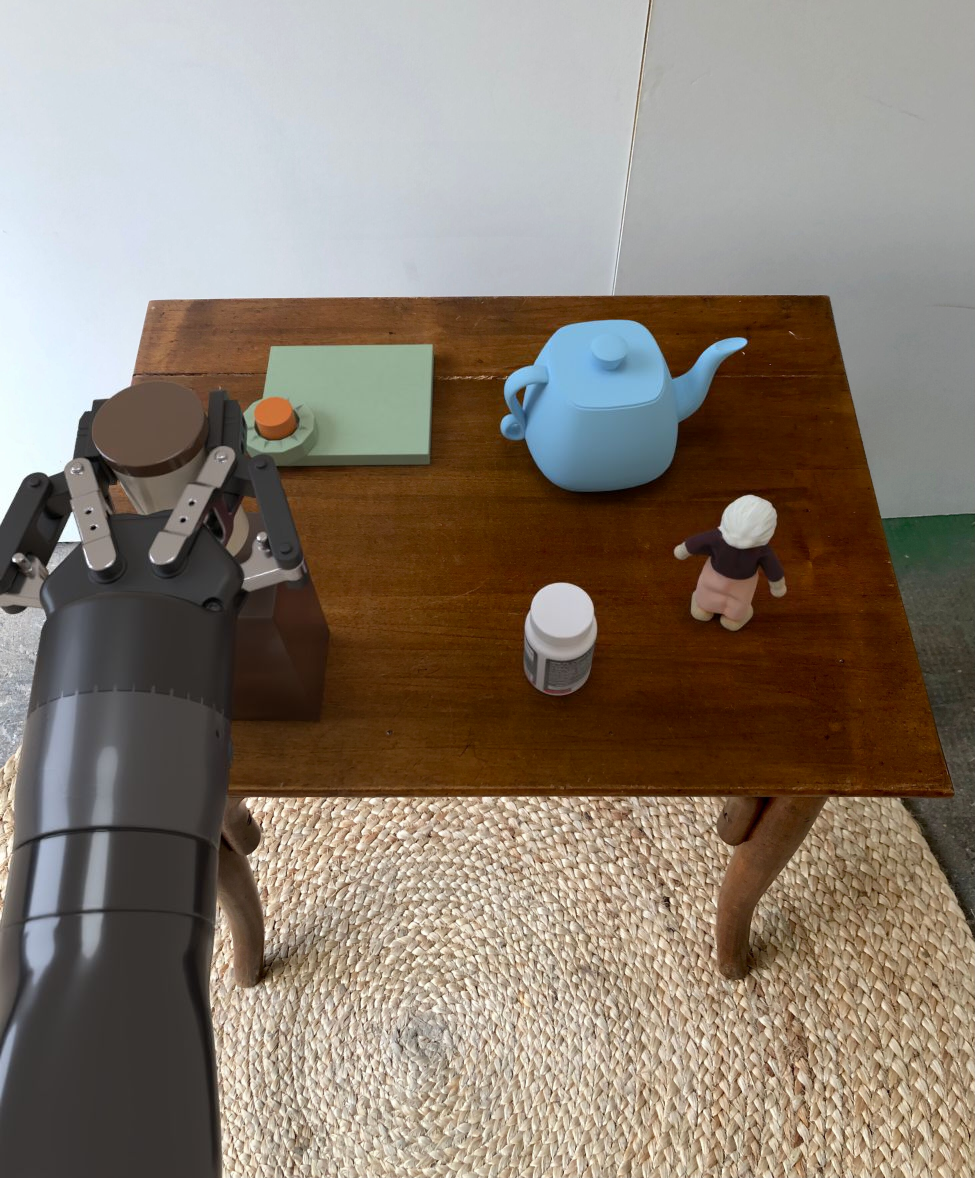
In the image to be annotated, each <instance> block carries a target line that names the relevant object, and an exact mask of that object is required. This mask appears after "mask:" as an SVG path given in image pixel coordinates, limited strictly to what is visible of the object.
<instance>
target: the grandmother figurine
mask: <svg viewBox="0 0 975 1178" xmlns="http://www.w3.org/2000/svg"><path fill="white" fill-rule="evenodd" d="M777 518H778V514H777V510H776V508H774V507H773V504H772V503H771V502H770V501H768V500H766V499H764V498H761V497H759V496H755V495H753V494H747V495H743V496H741V497H739V498H737V499H735V500H734V501H733V502H731V503H730V504H728V505H727V507H726V508H725V509H724V511H723V513H722V516H721V521H720V525H719V526H718V527H717V529H711V530H707V531H702V532H699V533H697V534H695V535H691V536H689V537H687V538H686V539H685V540H684V542H682V543H681V544H678V545H677V546H675V548H674V549H673V554H674V557H675V558H676V559H678V560H680V561H683V560H686V559H687V558H689V557H691V556H707V557H708V558H707V559H706V561H705V563H704V565H703V567H702V570H701V572H700V575H699V578H698V580H697V583H696V584H697V585H696V589H695V590H694V591H693V592H692V595H691V606H690V613H691V616H692V617H693V618H694V619H696V620H698V621H701V622H708V621H711V619H713V617H714V615H715V614H721V615H720V618H719V621H720V624H721V625H722V627H724V628H725V629H727V630H728V631H732V632H735V631H738V630H739V629H741V628H742V627H743V626H745V624H747V623H748V622H749V621H750V620H751V619H752V617H753V615H754V609H753V606H752V602H753V598H754V594H755V592H756V589H757V586H758V585H757V584H758V581H759V577H760V576H759V567H760V568H761V570H762V572H763V574H764V576H765V577H766V579H767V582H768V585H769V587H770V588H769V589H770V593H771V595H772V596H773V597H774V598H775V597H776V598H781V597H783V596H784V595H785V594H787V585H786V580H785V575H786V573H785V570H784V568H783V566H782V564H781V562H780V560H779V558H778V556H777V555H776V553H775V551H774V550H773V548H772V547H771V546H770V545H769V544H768V543H769V542H770V540H771V538H772V537H773V536H774V534H775V530H776V527H777Z"/></svg>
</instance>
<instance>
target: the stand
mask: <svg viewBox="0 0 975 1178" xmlns="http://www.w3.org/2000/svg"><path fill="white" fill-rule="evenodd" d="M245 513H246V515H247V518H248V522H249V531H248V536H247V539H246V541H245V543H244V545H243V547H242V548H241V549H240V551H239V552H238V553H237V554H236V555H235V556H234V558H235V559H236V560H237V561H238V562H239V564H242V563H244V562H246V561H247V560H248V559H249V558H250V557H251V555H252V544H253V542H254V540H255V539H256V536H257V534H258V533H260V532H266V530H265V527H264V523H263V520H262V516H261V513H260V511H256V512H255V511H245ZM330 634H331V630H330V628H329V625H328V621H327V619H326V616H325V612H324V610H323V607H322V605H321V602H320V598H319V596H318V594H317V591H316V589H315V585H314V582H313V580H312V577H311V575H310V581H309V583H308V584H307V585H306V586H305V587H304V588H302V589H298V590H292V589H289V588H288V587H286V586H285V584H284V582H280V583H277V584H274V585H270V586H267V587H264V588H260V589H257V590H254V591H250V593H249V597H248V600H247V602H246V603H245V605H244V606H243V608H242V609H241V611H240V613H239V615H238V618H237V623H236V648H235V669H234V691H233V711H232V721H298V722H299V721H300V722H301V721H309V722H312V721H313V722H315V721H317V722H318V721H320V720H321V715H322V714H321V713H322V705H323V696H324V687H325V680H326V670H327V660H328V651H329V643H330Z"/></svg>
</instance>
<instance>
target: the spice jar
mask: <svg viewBox="0 0 975 1178" xmlns="http://www.w3.org/2000/svg"><path fill="white" fill-rule="evenodd" d="M109 398H110V399H108V398H107V399H108V400H107V401H106V402H105V403H104V404H103V406H102V407H101V408H100V409H99V411H98V413H97V414H96V416H95V419H94V421H93V426H92V439H93V442H94V445H95V447H96V449H97V450H98V452H99V454H100V455H101V457H102V459H103V460H104V461H105V463H106V464H107V465H108V466H109V467H110V468H111V469H112V471H113V472H114V474H115V476H116V477H117V479H118V482H119V484H120V485H121V487H122V489H123V491H124V492H125V494H126V496H127V498H128V499H129V501H130V502H131V504H132V506H133V507H134V509H135V511H136V512H137V514H140V515H148V514H152V513H155V512H158V511H162V510H167V509H174V508H175V506H176V504H177V503H178V501H179V499H180V497H181V495H182V493H183V491H184V489H185V487H186V485H187V484H188V483H189V482H193V483H194V482H195V481H196V479H197V477H198V475H199V473H200V471H201V469H202V467H203V465H204V463H205V461H206V459H207V457H208V455H209V454H208V452H207V450H206V440H207V437H208V432H209V422H208V414H207V412H206V410H205V407H204V405H203V402H202V401H201V399H200V398H199V397H198V396H197V394H196V393H195V392H194V391H192V389H190V388H188V387H186V386H185V385H182V384H180V383H177V382H173V381H169V380H168V381H167V380H149V381H144V382H139V383H136V384H132V385H129V386H127V387H125V388H123V389H121V390H119V391H118V392H116V393H115V394H113V395H111V397H109ZM245 512H246V511H245V508H244V507H243V504H242V502H241V504H240V506H239V509H238V511H237V513H236V515H235V517H234V528H233V533H232V535H231V538H230V540H229V542H228V544H227V546H226V549H227V550H228V551H229V552H230V553H231V554H232V555H233V557H234V556H235V555H236V554H237V553H238V552H239V551H240V549H241V548H242V547H243V545H244V543H245V541H246V539H247V536H248V531H249V522H248V518H247V515H246V513H245Z"/></svg>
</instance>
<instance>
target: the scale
mask: <svg viewBox="0 0 975 1178" xmlns="http://www.w3.org/2000/svg"><path fill="white" fill-rule="evenodd" d="M434 363H435V352H434V344H431V343H430V344H427V343H426V344H425V343H423V344H422V343H421V344H352V345H351V344H347V345H345V344H344V345H343V344H342V345H340V344H339V345H336V344H335V345H271V346H270V350H269V357H268V364H267V369H266V376H265V381H264V389H263V394H262V398H261V399H259V400H256V401H254V402H252V403H251V404H250V406H248V408H247V409H246V410H245V411H244V412H242V413H243V415H244V418H245V421H246V424H247V426H248V429H247V451H246V452H247V453H248V454H249V457H250V458H253V457H254V456H256V455H259V454H266V455H269V456H271V457H272V458H273V459H274V462H275V465H276V467H309V466H310V467H311V466H312V467H313V466H316V467H317V466H318V467H319V466H323V467H324V466H403V465H405V466H407V465H408V466H410V465H411V466H412V465H414V466H415V465H416V466H418V465H419V466H420V465H431V449H432V448H431V447H432V446H431V445H432V424H433V423H432V422H433V421H432V420H433V394H434V393H433V391H434V368H435V367H434V366H435V365H434ZM271 397H280V398H284V399H286V400H287V401H288V402H289V403H290V404H291V406H292V408H293V412H294V415H295V419H296V428H295V430H294V432H293V433H292V434H291V435H290V436H288V437H286V438H284V439H281V440H270V439H267V438H265V437H264V436H262V435H261V433H260V431H259V429H258V426H257V423H256V420H255V417H254V410H255V408H256V406H257V405H258V404H259V403H260V402H261V401H263V400H265V399H267V398H271Z"/></svg>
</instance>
